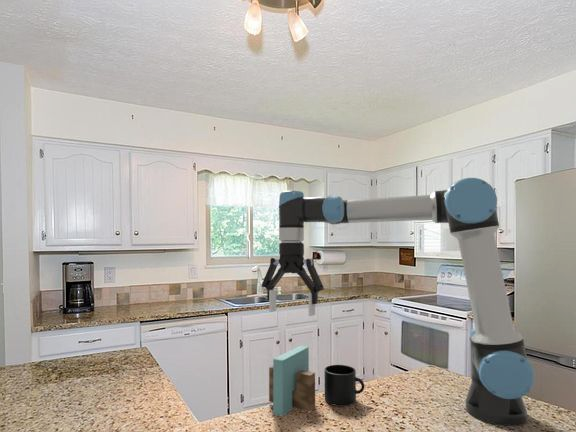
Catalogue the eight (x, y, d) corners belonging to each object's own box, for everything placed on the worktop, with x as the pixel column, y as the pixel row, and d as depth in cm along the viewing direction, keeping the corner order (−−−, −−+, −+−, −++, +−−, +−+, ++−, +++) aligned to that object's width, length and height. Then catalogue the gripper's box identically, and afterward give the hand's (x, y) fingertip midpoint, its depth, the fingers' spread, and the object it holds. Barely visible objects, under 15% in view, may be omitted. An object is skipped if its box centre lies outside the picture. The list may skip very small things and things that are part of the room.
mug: (363, 409, 111) (362, 376, 112) (322, 404, 114) (321, 373, 115) (365, 396, 120) (365, 366, 121) (327, 392, 124) (327, 363, 124)
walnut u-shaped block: (315, 407, 112) (315, 372, 113) (310, 411, 110) (310, 375, 110) (274, 397, 119) (274, 364, 120) (269, 401, 117) (269, 367, 117)
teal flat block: (300, 394, 122) (300, 345, 123) (308, 396, 121) (308, 346, 122) (273, 413, 108) (273, 359, 109) (282, 416, 107) (282, 360, 108)
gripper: (334, 242, 114) (335, 315, 113) (264, 242, 127) (264, 307, 126) (323, 242, 108) (324, 319, 107) (250, 242, 121) (250, 311, 119)
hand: (291, 313), depth 116 cm, fingers open, 13 cm apart
